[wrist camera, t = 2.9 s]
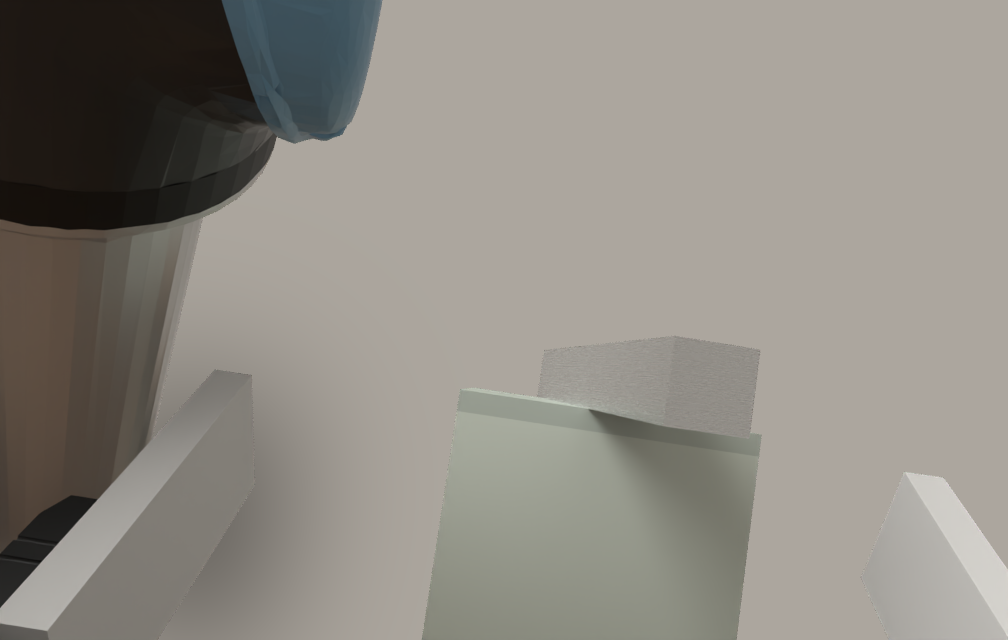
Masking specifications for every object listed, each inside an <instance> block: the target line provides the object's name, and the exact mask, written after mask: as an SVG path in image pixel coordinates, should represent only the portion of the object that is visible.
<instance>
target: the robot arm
mask: <svg viewBox="0 0 1008 640" xmlns="http://www.w3.org/2000/svg"><path fill="white" fill-rule="evenodd" d="M381 5H382V0H0V640H158V639H159V637H160V636H161V634H162V632H163V631H164V629H165V627H166V626H167V624H168V623H169V621H170V620H171V618H172V616H173V615H174V613H175V612H176V610H177V608H178V607H179V605H180V603H181V602H182V600H183V599H184V597H185V595H186V594H187V592H188V591H189V589H190V588H191V586H192V584H193V583H194V581H195V580H196V578H197V576H198V575H199V573H200V572H201V570H202V568H203V567H204V565H205V564H206V562H207V561H208V559H209V557H210V556H211V554H212V552H213V551H214V549H215V548H216V546H217V545H218V543H219V541H220V540H221V538H222V536H223V535H224V533H225V532H226V530H227V528H228V527H229V525H230V524H231V522H232V521H233V519H234V517H235V516H236V514H237V513H238V511H239V509H240V508H241V506H242V505H243V503H244V501H245V500H246V498H247V497H248V495H249V493H250V492H251V490H252V488H253V487H254V485H255V470H254V439H253V438H254V436H253V405H252V404H253V403H252V402H253V401H252V375H248V374H241V373H234V372H227V371H220V370H214V371H213V372H212V373H211V375H210V376H209V377H208V378H207V379H206V380H205V381H204V382H203V383H202V384H201V386H200V387H199V388H198V389H197V390H196V391H195V392H194V394H192V396H191V397H190V398H189V399H188V400H187V401H186V402H185V403H184V404H183V406H182V407H181V408H180V409H179V410H178V411H177V412H176V413H175V414H174V416H173V417H172V418H171V419H170V420H169V421H168V422H167V423H166V425H165V426H164V427H163V428H162V429H161V430H160V431H159V432H158V433H157V434H156V436H155V437H154V438H153V434H154V429H155V425H156V421H157V416H158V412H159V407H160V403H161V398H162V394H163V390H164V386H165V381H166V376H167V372H168V368H169V363H170V359H171V355H172V350H173V346H174V341H175V337H176V332H177V328H178V324H179V320H180V315H181V311H182V307H183V302H184V298H185V294H186V289H187V285H188V280H189V276H190V272H191V267H192V263H193V259H194V254H195V249H196V245H197V241H198V236H199V232H200V228H201V223H202V219H203V217H205V216H207V215H210V214H212V213H214V212H216V211H218V210H220V209H222V208H223V207H225V206H226V205H228V204H230V203H231V202H233V201H234V200H236V199H237V198H238V197H240V196H241V195H242V194H243V193H244V192H245V191H246V190H248V189H249V188H250V187H251V186H252V185H253V184H254V182H255V181H256V180H257V179H258V177H259V176H260V175H261V174H262V173H263V170H264V169H265V167H266V165H267V163H268V161H269V159H270V156H271V154H272V151H273V148H274V145H275V141H276V137H278V138H281V139H283V140H286V141H289V142H291V143H298V142H301V141H304V140H308V139H312V138H314V139H318V140H323V141H327V140H329V139H332V138H333V137H337V136H340V135H342V134H343V132H344V130H345V128H346V127H347V125H348V124H349V123H350V122H351V121H352V119H353V117H354V115H355V112H356V110H357V107H358V105H359V101H360V98H361V95H362V91H363V88H364V84H365V80H366V76H367V72H368V68H369V64H370V59H371V54H372V50H373V45H374V41H375V36H376V32H377V26H378V21H379V16H380V10H381ZM152 438H153V439H152ZM861 579H862V582H863V584H864V586H865V588H866V590H867V593H868V595H869V597H870V599H871V601H872V604H873V606H874V608H875V611H876V613H877V615H878V617H879V619H880V622H881V624H882V626H883V628H884V630H885V633H886V635H887V637H888V639H889V640H1008V569H1007V568H1006V567H1005V565H1004V564H1003V562H1002V561H1001V559H1000V558H999V557H998V555H997V554H996V552H995V551H994V549H993V548H992V547H991V545H990V544H989V542H988V541H987V539H986V538H985V537H984V535H983V534H982V532H981V531H980V529H979V528H978V526H977V525H976V524H975V522H974V521H973V520H972V518H971V516H970V515H969V514H968V512H967V511H966V509H965V508H964V506H963V505H962V503H961V502H960V501H959V500H958V498H957V496H956V495H955V493H954V492H953V491H952V489H951V488H950V486H949V485H948V483H947V482H946V480H945V479H944V478H942V477H936V476H929V475H922V474H915V473H909V472H904V474H903V476H902V479H901V481H900V483H899V486H898V488H897V491H896V493H895V496H894V498H893V500H892V503H891V505H890V508H889V510H888V513H887V515H886V517H885V520H884V522H883V525H882V527H881V530H880V532H879V535H878V537H877V539H876V542H875V545H874V547H873V549H872V552H871V554H870V556H869V559H868V561H867V564H866V566H865V569H864V571H863V573H862V576H861Z"/></svg>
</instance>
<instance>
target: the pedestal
mask: <svg viewBox="0 0 1008 640" xmlns="http://www.w3.org/2000/svg"><path fill="white" fill-rule="evenodd" d="M760 443H761V435H760V434H755V433H750V437H749V439H747V438H740V437H733V436H726V435H719V434H712V433H706V432H699V431H692V430H685V429H678V428H672V427H665V426H660V425H656V424H651V423H647V422H643V421H638V420H634V419H630V418H626V417H621V416H617V415H613V414H608V413H604V412H600V411H595V410H591V409H587V408H583V407H578V406H574V405H570V404H565V403H561V402H557V401H553V400H548V399H544V398H539V397H532V396H525V395H519V394H512V393H506V392H499V391H492V390H486V389H479V388H468V389H460V395H459V401H458V409H457V414H456V421H455V427H454V434H453V440H452V447H451V453H450V460H449V467H448V473H447V479H446V486H445V492H444V499H443V506H442V512H441V518H440V525H439V531H438V538H437V544H436V551H435V558H434V564H433V571H432V577H431V584H430V590H429V597H428V603H427V610H426V616H425V623H424V629H423V636H422V640H736V638H737V631H738V622H739V614H740V606H741V598H742V590H743V582H744V574H745V565H746V557H747V549H748V541H749V533H750V524H751V516H752V508H753V500H754V492H755V484H756V476H757V467H758V459H759V451H760Z"/></svg>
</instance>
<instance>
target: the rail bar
mask: <svg viewBox="0 0 1008 640" xmlns="http://www.w3.org/2000/svg"><path fill="white" fill-rule="evenodd" d="M759 355H760V350H759V349H752V348H746V347H740V346H734V345H728V344H721V343H715V342H709V341H703V340H697V339H690V338H684V337H678V336H671V337H662V338H653V339H643V340H634V341H624V342H615V343H606V344H597V345H587V346H579V347H569V348H560V349H551V350H544V355H543V361H542V369H541V375H540V382H539V389H538V396H537V397H540V398H544V399H548V400H553V401H557V402H561V403H565V404H570V405H574V406H578V407H583V408H587V409H591V410H595V411H600V412H604V413H608V414H613V415H617V416H621V417H626V418H630V419H634V420H638V421H643V422H647V423H651V424H656V425H660V426H665V427H672V428H678V429H685V430H692V431H699V432H706V433H712V434H719V435H726V436H733V437H740V438H747V439H749V437H750V429H751V421H752V413H753V404H754V396H755V389H756V380H757V372H758V364H759Z"/></svg>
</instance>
